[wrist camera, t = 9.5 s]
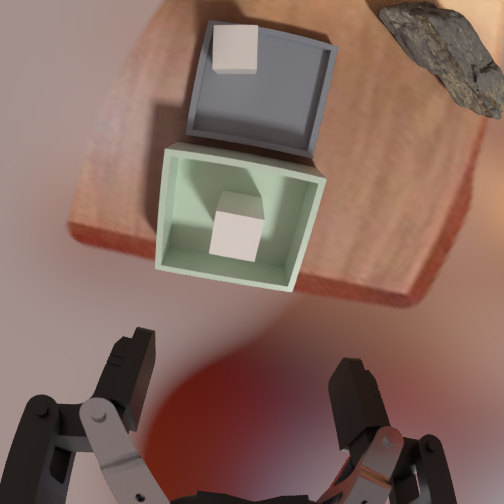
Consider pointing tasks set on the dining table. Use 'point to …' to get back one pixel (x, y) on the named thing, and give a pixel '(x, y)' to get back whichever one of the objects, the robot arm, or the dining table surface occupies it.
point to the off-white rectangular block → (237, 226)
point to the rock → (449, 53)
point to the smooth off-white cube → (235, 49)
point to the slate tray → (265, 94)
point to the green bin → (205, 205)
